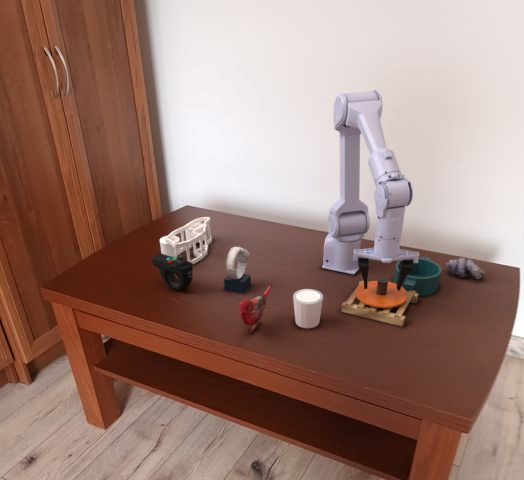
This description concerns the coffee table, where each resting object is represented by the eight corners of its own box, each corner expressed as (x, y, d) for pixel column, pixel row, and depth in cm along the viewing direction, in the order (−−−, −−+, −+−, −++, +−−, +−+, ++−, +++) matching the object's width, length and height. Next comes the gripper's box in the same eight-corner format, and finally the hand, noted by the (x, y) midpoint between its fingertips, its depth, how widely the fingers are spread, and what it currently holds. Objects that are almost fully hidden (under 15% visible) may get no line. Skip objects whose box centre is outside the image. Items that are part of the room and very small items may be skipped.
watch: (253, 282, 140) (252, 243, 134) (241, 296, 134) (239, 257, 128) (234, 278, 142) (232, 240, 135) (221, 292, 136) (218, 253, 129)
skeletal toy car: (197, 236, 165) (195, 213, 160) (226, 243, 160) (224, 220, 155) (154, 261, 151) (150, 237, 147) (183, 270, 146) (180, 246, 142)
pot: (384, 294, 133) (386, 277, 130) (403, 267, 145) (405, 250, 142) (429, 304, 129) (432, 287, 126) (444, 275, 140) (448, 258, 137)
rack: (341, 311, 127) (341, 302, 126) (359, 287, 136) (360, 278, 135) (402, 326, 121) (403, 317, 120) (417, 300, 130) (419, 291, 129)
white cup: (313, 332, 120) (314, 306, 116) (287, 324, 123) (287, 298, 119) (327, 318, 125) (328, 292, 121) (301, 311, 128) (301, 285, 124)
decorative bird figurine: (235, 343, 118) (232, 304, 112) (267, 304, 131) (266, 268, 125) (247, 346, 117) (245, 307, 111) (277, 306, 130) (277, 270, 124)
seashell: (482, 283, 139) (444, 276, 143) (488, 263, 138) (449, 257, 143) (481, 279, 134) (441, 272, 138) (487, 258, 134) (447, 252, 138)
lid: (348, 303, 125) (349, 286, 123) (365, 280, 134) (366, 264, 131) (398, 315, 120) (401, 298, 118) (413, 290, 129) (415, 274, 126)
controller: (187, 297, 135) (182, 261, 129) (153, 284, 141) (147, 249, 135) (198, 290, 137) (194, 255, 132) (164, 277, 143) (159, 243, 138)
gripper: (355, 240, 115) (350, 294, 123) (423, 243, 114) (414, 297, 122) (355, 227, 121) (351, 279, 129) (420, 229, 119) (412, 282, 127)
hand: (381, 287), depth 126 cm, fingers open, 7 cm apart
